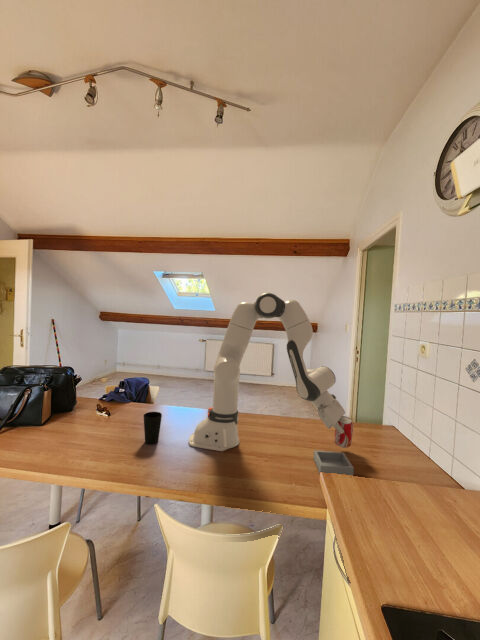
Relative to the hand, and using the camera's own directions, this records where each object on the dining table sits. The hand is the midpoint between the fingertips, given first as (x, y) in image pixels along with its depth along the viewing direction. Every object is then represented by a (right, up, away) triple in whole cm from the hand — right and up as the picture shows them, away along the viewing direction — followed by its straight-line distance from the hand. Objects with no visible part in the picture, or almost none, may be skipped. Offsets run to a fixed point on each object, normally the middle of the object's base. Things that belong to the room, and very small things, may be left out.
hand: (345, 430), depth 125 cm
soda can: (0, -7, +3) cm, 8 cm away
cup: (-84, -6, +2) cm, 84 cm away
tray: (-9, -10, -12) cm, 18 cm away
